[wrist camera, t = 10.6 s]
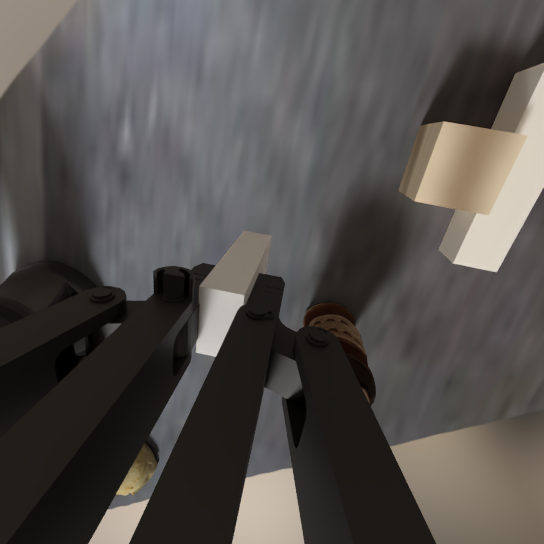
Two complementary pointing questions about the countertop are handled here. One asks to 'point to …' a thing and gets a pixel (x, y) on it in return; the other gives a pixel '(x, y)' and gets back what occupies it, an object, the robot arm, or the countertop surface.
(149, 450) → the pastry
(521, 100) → the white rectangular bar
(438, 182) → the block
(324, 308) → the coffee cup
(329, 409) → the robot arm
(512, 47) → the countertop surface
